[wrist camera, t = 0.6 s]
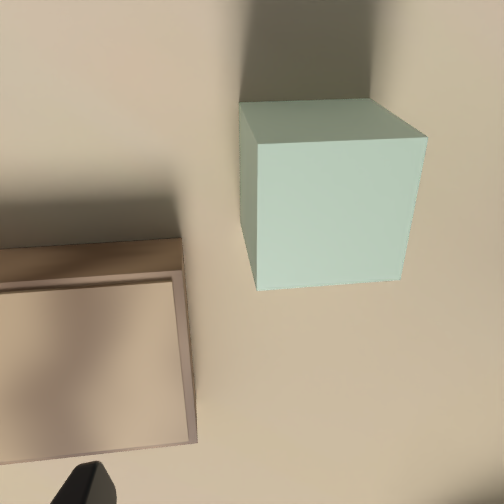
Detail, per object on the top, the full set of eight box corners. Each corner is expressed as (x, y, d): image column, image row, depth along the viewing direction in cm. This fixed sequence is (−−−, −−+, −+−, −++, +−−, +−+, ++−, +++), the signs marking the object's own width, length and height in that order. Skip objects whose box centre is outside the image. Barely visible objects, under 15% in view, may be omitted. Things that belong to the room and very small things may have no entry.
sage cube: (369, 97, 18) (428, 137, 14) (354, 215, 20) (400, 279, 16) (238, 101, 17) (257, 144, 13) (240, 222, 20) (256, 290, 16)
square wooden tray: (181, 237, 20) (181, 272, 17) (196, 402, 25) (197, 445, 23) (-73, 253, 19) (-107, 292, 16) (-3, 423, 24) (-22, 470, 22)
